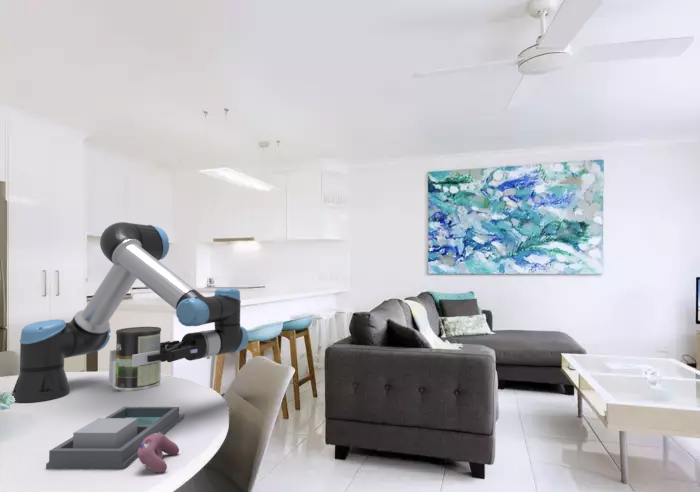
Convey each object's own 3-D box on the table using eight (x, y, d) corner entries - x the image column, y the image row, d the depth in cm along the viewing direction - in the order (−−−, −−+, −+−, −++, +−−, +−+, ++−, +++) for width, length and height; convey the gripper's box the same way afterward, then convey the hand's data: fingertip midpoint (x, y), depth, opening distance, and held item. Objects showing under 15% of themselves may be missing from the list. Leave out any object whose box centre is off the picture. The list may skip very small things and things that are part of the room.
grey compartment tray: (45, 468, 89) (46, 438, 90) (125, 417, 120) (125, 395, 120) (124, 468, 89) (125, 438, 89) (183, 417, 119) (184, 395, 120)
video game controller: (162, 461, 96) (147, 432, 96) (181, 450, 97) (167, 422, 97) (145, 483, 86) (129, 451, 86) (167, 471, 87) (151, 439, 87)
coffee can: (113, 393, 104) (114, 333, 105) (116, 383, 114) (117, 328, 115) (160, 388, 108) (161, 330, 109) (160, 378, 118) (160, 325, 119)
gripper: (225, 363, 119) (146, 380, 101) (176, 354, 132) (99, 368, 114) (225, 334, 120) (146, 347, 102) (176, 329, 133) (99, 338, 115)
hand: (121, 358), depth 108 cm, fingers closed on coffee can, 10 cm apart
